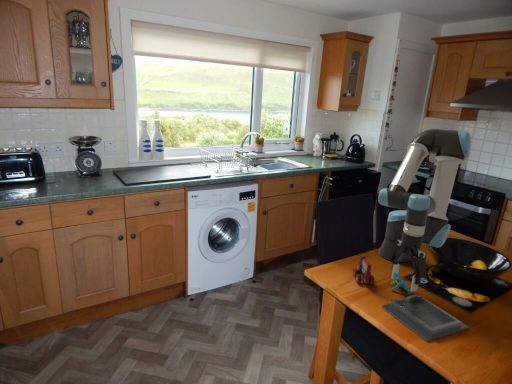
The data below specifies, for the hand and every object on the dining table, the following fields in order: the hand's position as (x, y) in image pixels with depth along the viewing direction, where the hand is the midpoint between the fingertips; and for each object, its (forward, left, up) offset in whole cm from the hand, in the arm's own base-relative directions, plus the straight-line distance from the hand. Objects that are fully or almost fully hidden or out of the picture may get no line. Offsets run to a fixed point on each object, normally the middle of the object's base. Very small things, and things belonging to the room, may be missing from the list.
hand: (403, 284), depth 140 cm
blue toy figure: (0, +2, -4) cm, 4 cm away
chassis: (+8, +17, -3) cm, 19 cm away
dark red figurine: (+11, -12, -3) cm, 16 cm away
